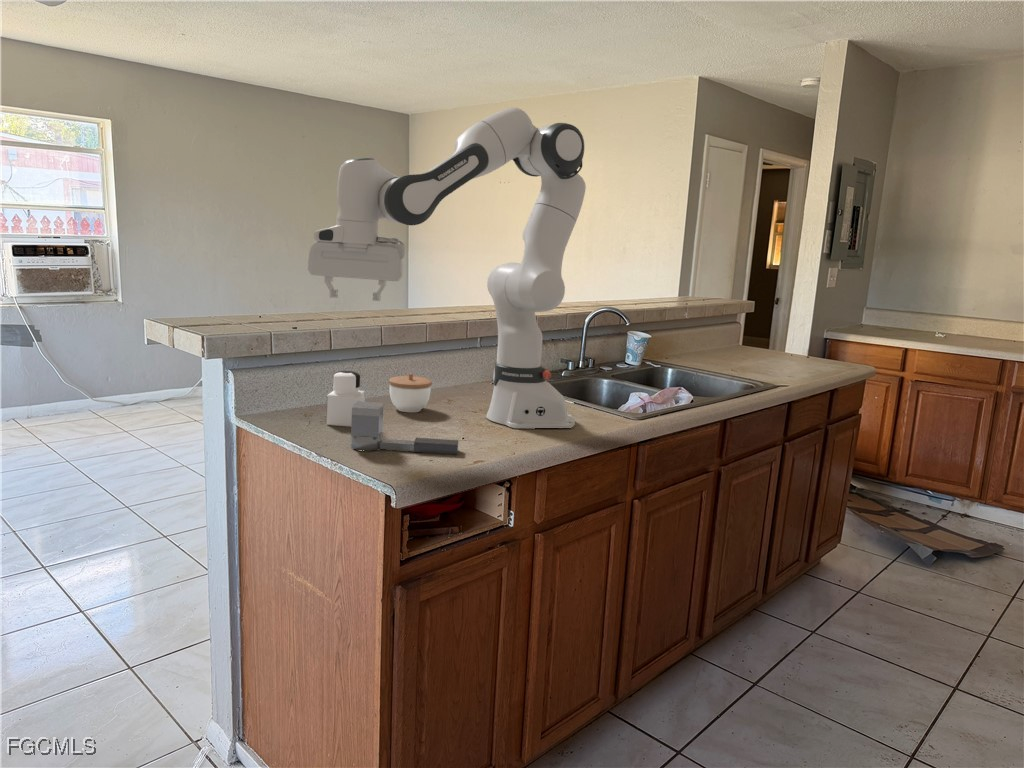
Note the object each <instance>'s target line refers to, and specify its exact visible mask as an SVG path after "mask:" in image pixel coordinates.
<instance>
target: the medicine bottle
mask: <svg viewBox="0 0 1024 768" xmlns="http://www.w3.org/2000/svg"><path fill="white" fill-rule="evenodd" d="M332 378H333V379H332V391H330V392H329V393H328V394H327V395H326V421H325V422H326V423H325V424H326V425H327V426H336V427H347V428H348V427H349V428H351V423H352V407H353V406H354V404H355V403H356V402H357V401H362V402H366V395H365V394H366V391H365V390H361V388H360V387H361V374H360V373H358V372H355V371H352V370H340V371H336V372H335V373H333V375H332Z"/></svg>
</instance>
